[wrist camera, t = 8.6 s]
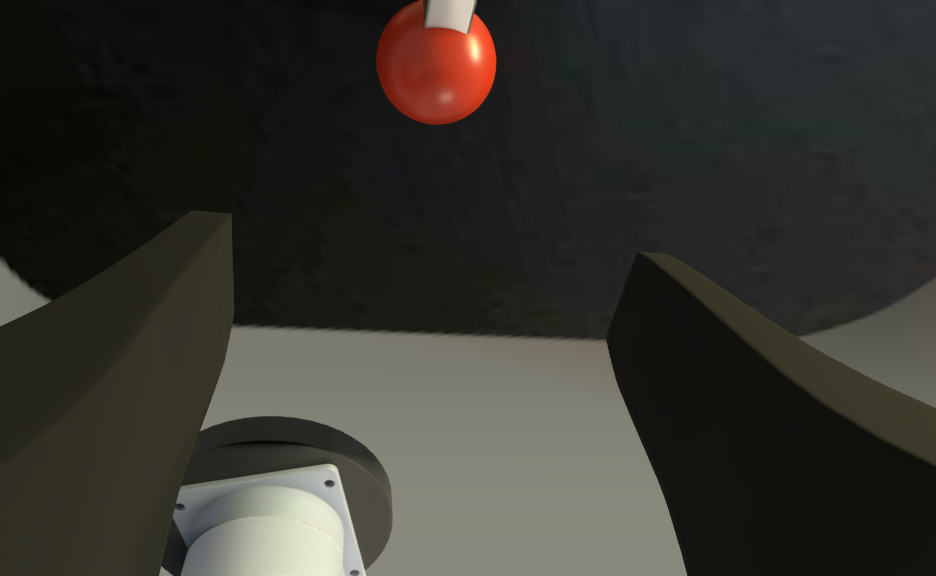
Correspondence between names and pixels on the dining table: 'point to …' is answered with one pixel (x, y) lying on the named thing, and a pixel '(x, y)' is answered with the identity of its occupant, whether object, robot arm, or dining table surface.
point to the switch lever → (436, 60)
